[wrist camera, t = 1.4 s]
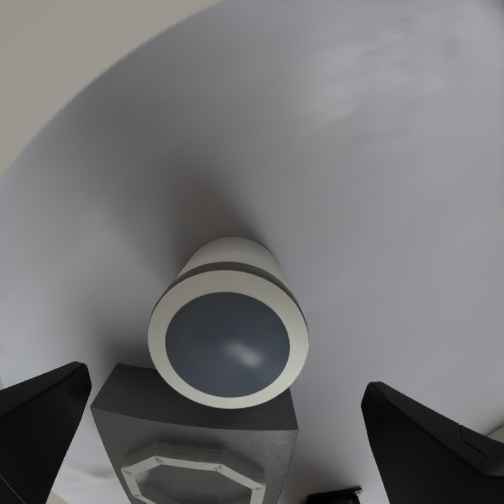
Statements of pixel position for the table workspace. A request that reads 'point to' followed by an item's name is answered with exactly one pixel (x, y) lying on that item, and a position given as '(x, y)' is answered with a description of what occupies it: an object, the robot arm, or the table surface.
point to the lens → (229, 327)
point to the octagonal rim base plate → (192, 443)
